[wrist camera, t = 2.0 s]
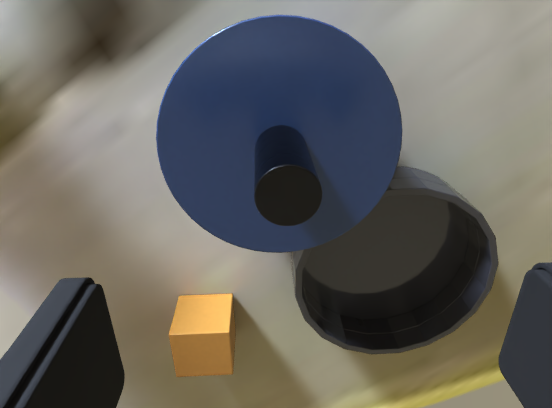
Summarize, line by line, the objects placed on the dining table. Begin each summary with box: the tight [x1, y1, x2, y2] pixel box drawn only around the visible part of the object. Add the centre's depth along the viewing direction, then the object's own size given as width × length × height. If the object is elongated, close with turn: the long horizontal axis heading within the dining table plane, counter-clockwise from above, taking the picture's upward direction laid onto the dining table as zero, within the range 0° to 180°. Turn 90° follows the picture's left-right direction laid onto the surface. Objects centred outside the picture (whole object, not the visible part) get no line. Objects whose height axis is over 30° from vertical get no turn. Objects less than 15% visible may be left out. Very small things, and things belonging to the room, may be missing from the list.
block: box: [169, 294, 236, 377], centre depth 33 cm, size 4×4×4 cm
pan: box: [291, 167, 498, 354], centre depth 31 cm, size 15×15×4 cm
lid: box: [156, 15, 402, 253], centre depth 17 cm, size 11×11×6 cm
